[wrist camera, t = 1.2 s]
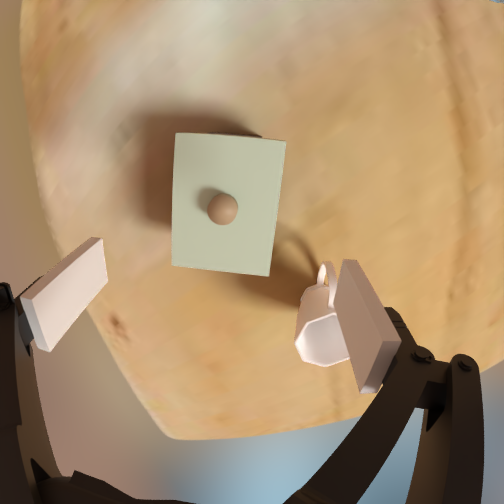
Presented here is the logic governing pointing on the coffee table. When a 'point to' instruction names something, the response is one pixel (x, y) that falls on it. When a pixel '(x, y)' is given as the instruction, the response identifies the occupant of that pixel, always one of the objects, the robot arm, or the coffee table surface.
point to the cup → (320, 322)
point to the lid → (225, 201)
